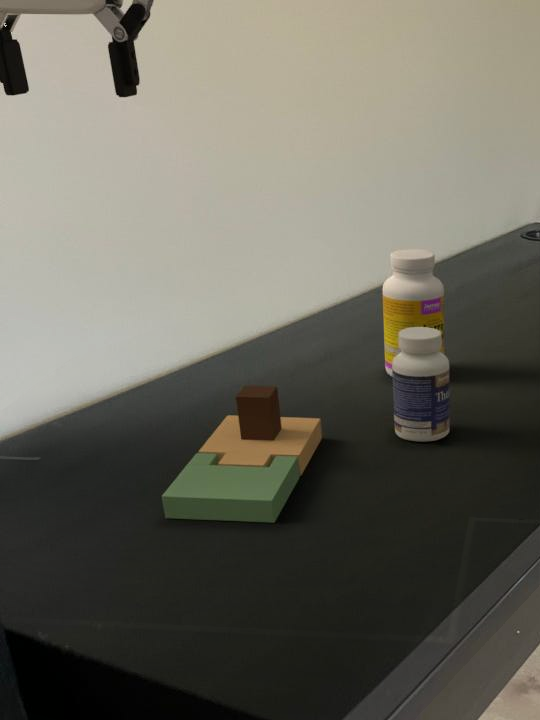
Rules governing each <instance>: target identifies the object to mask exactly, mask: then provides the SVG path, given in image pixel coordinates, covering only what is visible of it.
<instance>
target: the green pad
mask: <svg viewBox="0 0 540 720" xmlns="http://www.w3.org/2000/svg"><path fill="white" fill-rule="evenodd" d="M218 463H219V462H218V455H217V454H209V453H199V452H196V453H195V454H194V456H193V457H192V458H191V459H190V461H189V462H188V463H187V464H186V465H185V467H183V469H182V470H181V472H179V474H178V475H177V477H176V478H175V479H174V480H173V482H172V483H171V484H170V485H169V486H168V488H167V489H166V490H165V491H164V492H163V494H162V495H161V501H162V506H163V511H164V515H165V519H174V520H195V521H196V520H197V521H221V522H222V521H224V522H245V523H246V522H249V523H269V524H270V523H272V524H274V523H276V521H277V519H278V517H279V516H280V513H281V512H282V510H283V508H284V507H285V505H286V503H287V501H288V499H289V497H290V495H291V494H292V492H293V490H294V489H295V487H296V485H297V483H298V481H299V480H300V478H301V477H300V476H299V466H298V457H295V456H276V457H275V459H274V460H273V462H272V464H271V465H270V467H247V466H220V465H218Z"/></svg>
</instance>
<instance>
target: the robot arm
mask: <svg viewBox="0 0 540 720" xmlns="http://www.w3.org/2000/svg"><path fill="white" fill-rule="evenodd" d="M154 1H155V0H132V2H131V4H130V5H129V7H128V8H127V10H126V12H125V13H124V12H123V10H122V9H121V8H122V7H123V4H124V0H0V84H2V83H3V84H2V86H3V91H4V94H5V95H6V96H18V95H24V94H25V95H26V94H28V92H29V91H30V86H29V82H28V81H29V80H28V77H27V73H26V67H25V62H24V58H23V53H22V49H21V45H20V42H19V41H18V39H17V38H16V39H15V38H14V39H13V35H12V34H11V32H12V33H13V31H14V29H15V28H16V25H17V24H18V21H19V19H20V17H21V15H93V16H94V17H95V18H96V19H97V21H98V22H99V23H100V24H101V25H102V26H103V27H104V29H105V30H106V31H107V33H109V35H111V41H109V42H108V44H107V50H108V57H109V62H110V67H111V75H112V80H113V84H114V85H113V87H114V92H115V95H116V96H118V98H129V97H134V96H137V94H138V88H137V86H139V85H140V83H141V80H140V79H141V78H140V72H139V71H140V70H139V65H138V60H137V53H136V45H135V41H137V40H138V38H139V33H140V32H141V31H142V29H143V28H144V27H145V25H146V24H147V22H148V21H149V20H150V17H151V10H152V7H153V5H154ZM4 23H6V24H5V25H7V26H6V27H5V26H4Z"/></svg>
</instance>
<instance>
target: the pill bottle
mask: <svg viewBox="0 0 540 720" xmlns="http://www.w3.org/2000/svg"><path fill="white" fill-rule="evenodd" d="M398 346H399V349H400V350H402V352H401V353H399V354H398V355H396V356H395V358H394V359H393V362H392V375H393V376H391V377H392V378H391V379H392V395H393V396H392V397H393V420H394V421H393V422H394V432H395V434H396V436H397V437H399V438H400V439H402V440H405V441H410V442H416V443H417V442H419V443H421V442H422V443H426V442H435V441H438V440H441V439H444V438H445V437H447V436H448V434H449V433H450V421H451V418H450V417H451V412H450V411H451V409H450V408H451V406H450V405H451V402H450V401H451V399H450V397H451V395H450V391H451V388H450V387H451V385H450V383H451V382H450V379H451V378H450V377H451V375H450V374H451V373H450V372H451V371H450V369H451V368H450V361H449V358H448V356H446V355H445V353H444V354H443V353H441V352H439V350H440V349H441V348H442V334H441V332H440V331H439V330H437V329H434V328H428V327H411V328H406V329H403V330H401V331H399V334H398Z"/></svg>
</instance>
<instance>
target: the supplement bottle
mask: <svg viewBox="0 0 540 720" xmlns="http://www.w3.org/2000/svg"><path fill="white" fill-rule="evenodd" d="M435 258H436V256H435V253H434V252H432V251H430V250H425V249H417V248H416V249H415V248H414V249H413V248H411V249H410V248H408V249H399V250H395V251H392V252H391V253H390V266H391V269H392V275H391V276H389V277H388V278H387V279H386V280H385V281H384V283H383V284H382V313H383V316H382V317H383V340H384V341H383V343H384V345H383V346H384V367H385V371H386V373H387V375H389V376H390V377H392V376H393V375H392V362H393V359H394V358H395V356H396V355H398V354H399V353H401V352H402V350H400V349H399V346H398V334H399V331H401V330H403V329H406V328H411V327H428V328H434V329H437V330H439V331H440V332H441V334H442V348H441V349H440V350H439V352H441V353H443V354H444V355H445V287H444V284H443V283H442V281H441V280H440V279H439V278H438V277H436V276H434V271H433V270H434V268H435V266H436V263H435V262H436V259H435Z"/></svg>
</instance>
